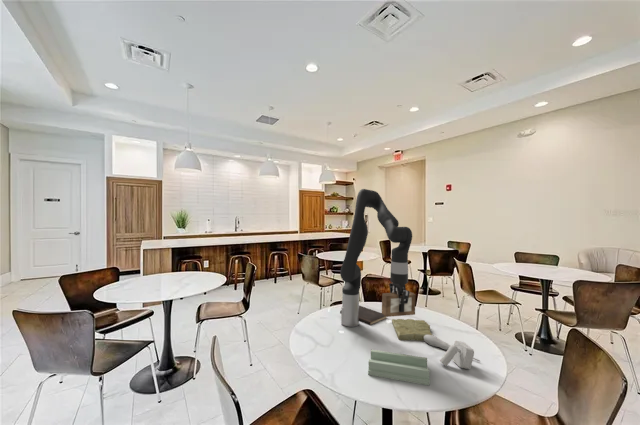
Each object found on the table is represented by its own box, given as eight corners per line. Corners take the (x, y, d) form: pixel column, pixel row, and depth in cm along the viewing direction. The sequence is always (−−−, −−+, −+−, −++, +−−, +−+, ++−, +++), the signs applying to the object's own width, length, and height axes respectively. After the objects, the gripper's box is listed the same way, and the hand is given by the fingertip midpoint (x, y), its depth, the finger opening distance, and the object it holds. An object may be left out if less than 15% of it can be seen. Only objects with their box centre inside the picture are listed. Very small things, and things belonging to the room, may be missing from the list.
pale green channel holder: (368, 374, 106) (368, 363, 106) (371, 358, 117) (371, 348, 117) (429, 385, 99) (429, 373, 99) (426, 367, 111) (426, 356, 111)
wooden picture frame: (386, 317, 119) (386, 296, 118) (381, 313, 123) (382, 293, 123) (415, 314, 122) (415, 294, 122) (409, 311, 126) (410, 291, 126)
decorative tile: (398, 340, 135) (398, 333, 135) (391, 323, 155) (391, 317, 155) (437, 342, 133) (437, 335, 133) (425, 325, 153) (426, 319, 153)
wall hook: (434, 359, 116) (440, 336, 116) (457, 363, 117) (462, 341, 117) (444, 370, 108) (450, 345, 108) (468, 375, 109) (475, 350, 109)
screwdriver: (478, 369, 113) (478, 360, 112) (422, 343, 132) (421, 335, 131) (482, 362, 116) (482, 353, 115) (427, 338, 135) (426, 330, 134)
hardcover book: (357, 308, 179) (357, 304, 179) (387, 318, 162) (387, 314, 162) (340, 314, 168) (340, 310, 168) (370, 326, 151) (370, 322, 151)
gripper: (415, 275, 116) (415, 315, 116) (398, 267, 130) (398, 303, 130) (399, 275, 114) (399, 316, 115) (384, 268, 128) (383, 304, 129)
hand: (398, 309), depth 122 cm, fingers closed on wooden picture frame, 4 cm apart
